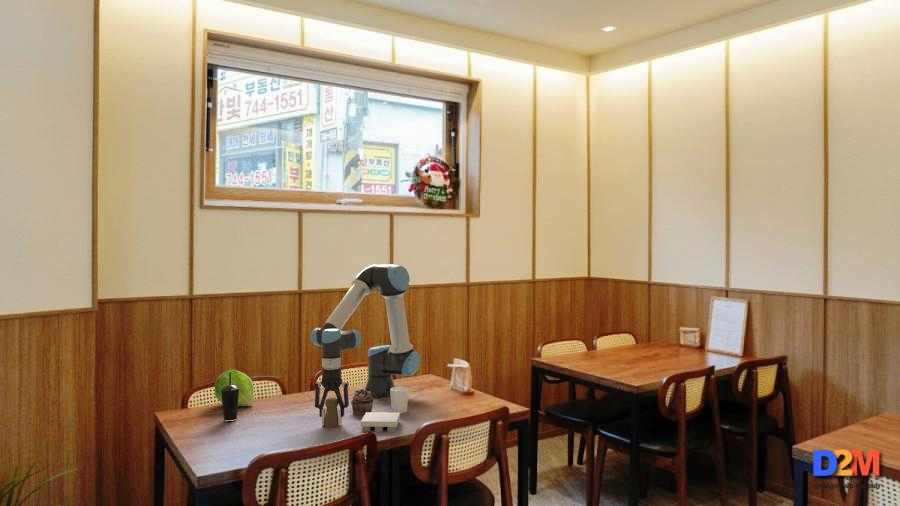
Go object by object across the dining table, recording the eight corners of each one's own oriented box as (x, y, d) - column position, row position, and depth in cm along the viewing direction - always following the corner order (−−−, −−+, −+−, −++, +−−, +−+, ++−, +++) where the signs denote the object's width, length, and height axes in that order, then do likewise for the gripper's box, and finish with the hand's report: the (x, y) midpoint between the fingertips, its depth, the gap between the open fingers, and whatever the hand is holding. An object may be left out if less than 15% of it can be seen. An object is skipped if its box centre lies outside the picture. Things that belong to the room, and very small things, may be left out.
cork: (325, 423, 235) (325, 396, 235) (340, 423, 235) (340, 396, 235) (323, 428, 229) (323, 400, 229) (338, 427, 229) (338, 400, 229)
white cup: (405, 414, 247) (405, 391, 246) (388, 413, 248) (387, 390, 248) (410, 409, 254) (410, 386, 254) (393, 408, 256) (393, 386, 256)
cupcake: (377, 410, 252) (377, 388, 252) (365, 417, 243) (365, 393, 243) (359, 408, 256) (359, 386, 256) (346, 414, 247) (346, 391, 247)
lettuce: (231, 416, 249) (254, 386, 252) (198, 389, 254) (221, 360, 257) (248, 418, 265) (270, 389, 268) (217, 392, 271) (239, 365, 274)
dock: (366, 421, 237) (366, 412, 237) (400, 422, 236) (399, 412, 236) (360, 431, 225) (360, 421, 225) (396, 431, 224) (396, 421, 224)
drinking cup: (244, 418, 242) (243, 371, 241) (231, 424, 234) (231, 375, 234) (229, 416, 244) (228, 369, 244) (216, 422, 237) (216, 373, 237)
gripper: (305, 369, 228) (306, 427, 228) (353, 369, 228) (353, 427, 228) (310, 365, 236) (311, 421, 236) (356, 365, 235) (357, 421, 235)
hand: (331, 424), depth 232 cm, fingers closed on cork, 6 cm apart
